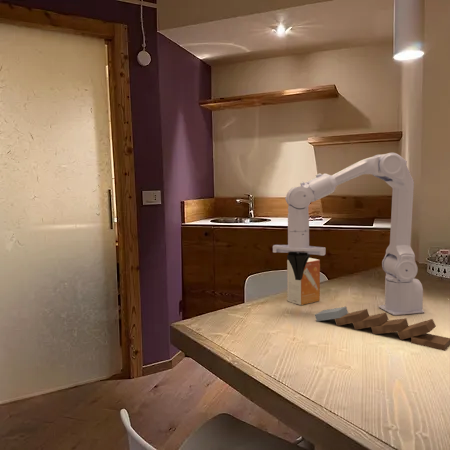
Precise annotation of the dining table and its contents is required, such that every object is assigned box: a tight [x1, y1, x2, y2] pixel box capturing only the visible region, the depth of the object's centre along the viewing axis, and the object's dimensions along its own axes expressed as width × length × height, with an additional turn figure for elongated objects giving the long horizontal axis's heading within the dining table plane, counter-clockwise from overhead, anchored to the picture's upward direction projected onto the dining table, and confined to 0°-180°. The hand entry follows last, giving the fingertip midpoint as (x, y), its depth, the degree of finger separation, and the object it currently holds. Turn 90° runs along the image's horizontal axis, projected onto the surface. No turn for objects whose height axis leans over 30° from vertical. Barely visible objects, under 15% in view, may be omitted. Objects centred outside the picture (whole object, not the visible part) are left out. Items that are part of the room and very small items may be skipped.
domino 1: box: [334, 308, 370, 327], centre depth 110 cm, size 2×5×7 cm
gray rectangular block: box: [314, 306, 349, 322], centre depth 114 cm, size 2×5×7 cm
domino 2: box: [352, 312, 390, 331], centre depth 107 cm, size 2×5×7 cm
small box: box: [286, 257, 321, 306], centre depth 132 cm, size 8×6×13 cm
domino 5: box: [410, 333, 450, 351], centre depth 97 cm, size 2×5×7 cm
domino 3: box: [370, 317, 409, 335], centre depth 104 cm, size 2×5×7 cm
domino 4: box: [396, 318, 437, 340], centre depth 100 cm, size 2×5×7 cm
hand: (298, 279), depth 120 cm, fingers closed
